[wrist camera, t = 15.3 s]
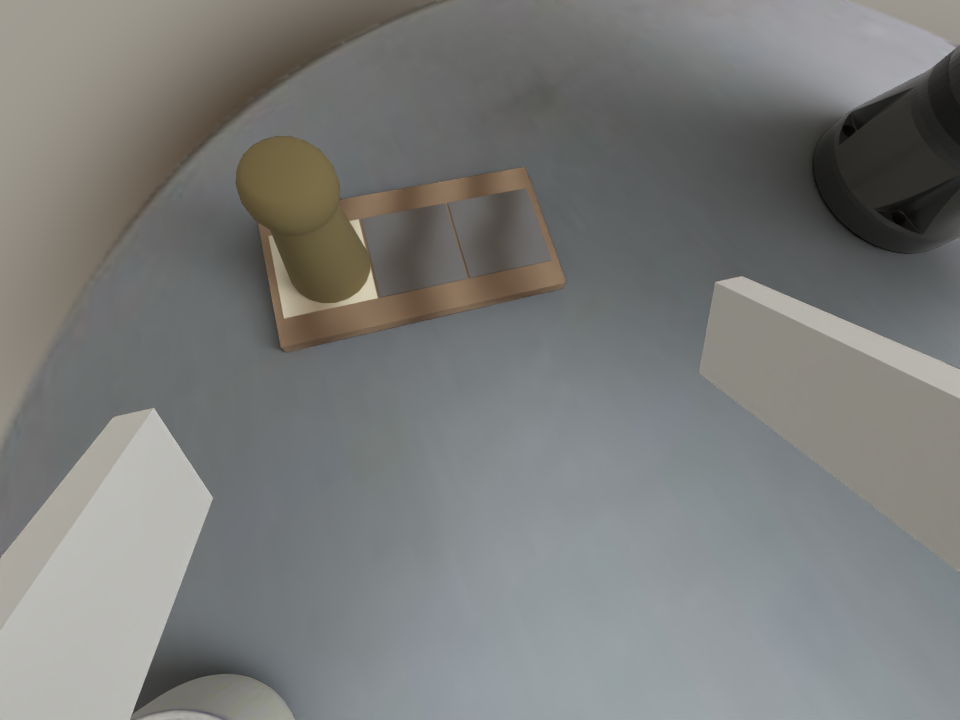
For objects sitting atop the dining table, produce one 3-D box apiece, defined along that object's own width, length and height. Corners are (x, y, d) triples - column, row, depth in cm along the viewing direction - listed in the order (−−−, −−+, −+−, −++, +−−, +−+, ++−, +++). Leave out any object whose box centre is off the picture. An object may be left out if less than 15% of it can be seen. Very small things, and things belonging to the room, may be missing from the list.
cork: (293, 310, 31) (220, 225, 21) (283, 237, 33) (210, 122, 22) (377, 295, 32) (348, 207, 22) (363, 225, 33) (330, 110, 23)
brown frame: (522, 176, 38) (525, 165, 36) (562, 288, 35) (566, 281, 34) (262, 223, 34) (255, 213, 33) (286, 352, 32) (280, 347, 30)
